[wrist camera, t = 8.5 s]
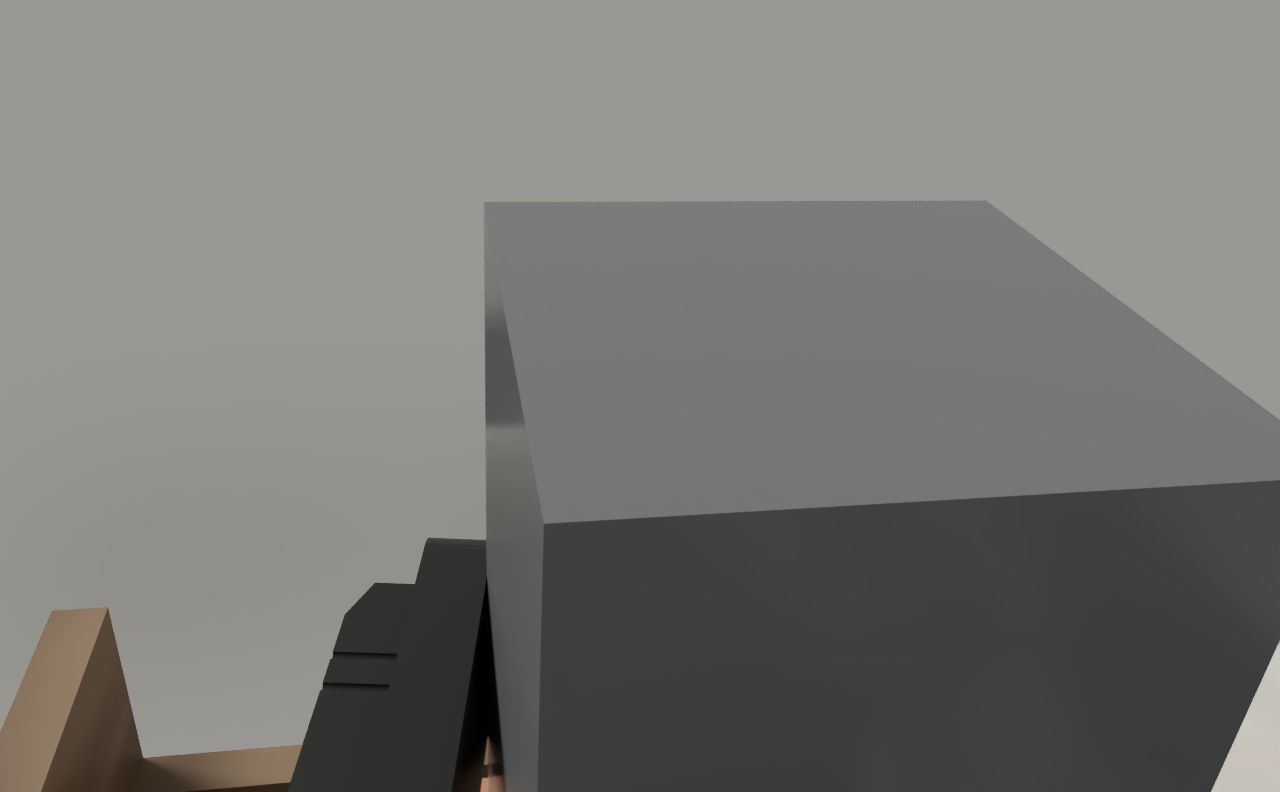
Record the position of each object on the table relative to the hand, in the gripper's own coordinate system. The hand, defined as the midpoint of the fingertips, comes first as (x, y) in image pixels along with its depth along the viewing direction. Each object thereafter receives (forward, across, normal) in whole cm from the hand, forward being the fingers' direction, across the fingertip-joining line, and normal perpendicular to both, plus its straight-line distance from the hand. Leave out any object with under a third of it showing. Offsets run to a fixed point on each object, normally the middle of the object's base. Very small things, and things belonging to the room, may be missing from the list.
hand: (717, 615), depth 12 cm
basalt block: (-3, 0, +6) cm, 7 cm away
